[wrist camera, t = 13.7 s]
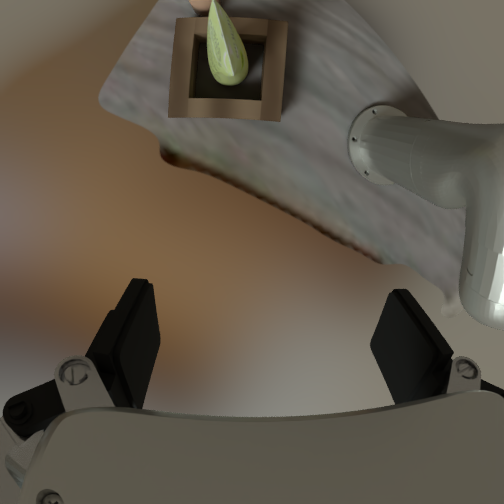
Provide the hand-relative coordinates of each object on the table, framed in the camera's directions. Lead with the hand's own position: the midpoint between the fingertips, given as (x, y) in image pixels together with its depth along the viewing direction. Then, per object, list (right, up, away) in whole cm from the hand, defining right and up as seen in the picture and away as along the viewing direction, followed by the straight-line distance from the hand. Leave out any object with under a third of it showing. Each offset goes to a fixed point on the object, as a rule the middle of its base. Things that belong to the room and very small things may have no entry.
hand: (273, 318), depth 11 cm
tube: (-4, +27, +24) cm, 37 cm away
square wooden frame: (-4, +27, +24) cm, 36 cm away
